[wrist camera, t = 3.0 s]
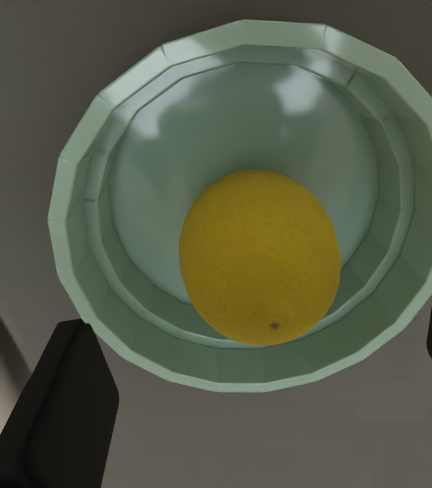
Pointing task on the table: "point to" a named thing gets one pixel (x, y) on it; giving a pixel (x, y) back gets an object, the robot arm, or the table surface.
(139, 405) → the table surface
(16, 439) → the robot arm
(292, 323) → the lemon
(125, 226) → the fruit bowl
